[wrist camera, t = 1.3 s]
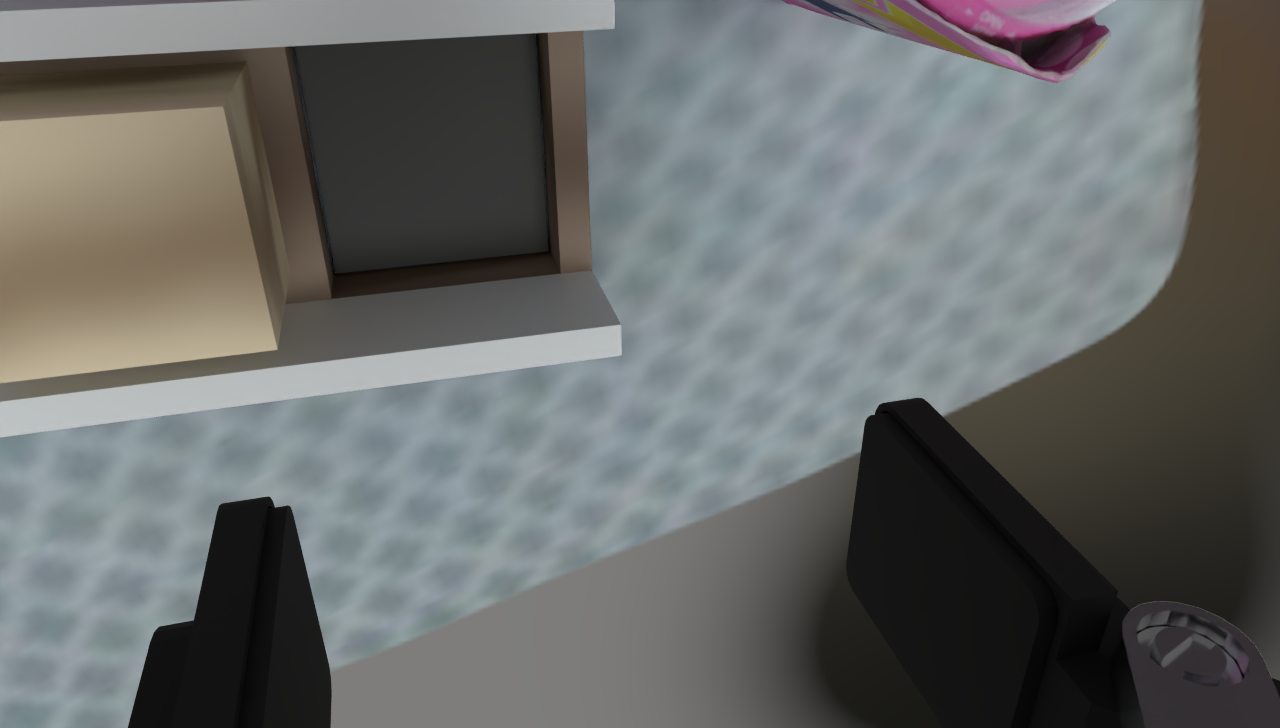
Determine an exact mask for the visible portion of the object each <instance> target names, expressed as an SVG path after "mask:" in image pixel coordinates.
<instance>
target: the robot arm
mask: <svg viewBox="0 0 1280 728" xmlns="http://www.w3.org/2000/svg"><path fill="white" fill-rule="evenodd" d="M846 565H847V566H846V569H847V576H848V580H849V583H850V586H851V588H852V590H853V592H854V593H855V595H856V597H857V598H858V600H859V601H860V602H861V604H862V606H863V607H864V609H865V610H866V612H867V613H868V615H869V616H870V618H871V619H872V621H873V622H874V624H875V626H876V627H877V629H878V630H879V632H880V633H881V635H882V636H883V638H884V639H885V641H886V642H887V644H888V645H889V647H890V648H891V650H892V651H893V653H894V655H895V656H896V658H897V659H898V661H899V662H900V664H901V665H902V667H903V668H904V670H905V671H906V673H907V674H908V676H909V677H910V679H911V680H912V682H913V684H914V685H915V687H916V688H917V690H918V691H919V693H920V694H921V696H922V697H923V699H924V700H925V702H926V703H927V705H928V706H929V708H930V709H931V711H932V713H933V714H934V715H935V717H936V719H937V720H938V722H939V723H940V725H941V726H942V728H1280V681H1279V680H1276V679H1273V678H1271V675H1270V673H1269V670H1268V668H1267V666H1266V663H1265V661H1264V659H1263V657H1262V655H1261V654H1260V652H1259V651H1258V649H1257V647H1256V646H1255V644H1254V643H1253V642H1252V641H1251V640H1250V639H1249V638H1248V637H1246V636H1245V634H1243V633H1242V632H1241V631H1240V630H1239V629H1238V628H1236V627H1235V626H1233V625H1232V624H1230V623H1228V622H1227V621H1225V620H1224V619H1222V618H1221V617H1219V616H1216V615H1214V614H1212V613H1210V612H1207V611H1205V610H1203V609H1200V608H1197V607H1193V606H1190V605H1186V604H1182V603H1177V602H1162V601H1156V602H1150V603H1145V604H1140V605H1139V606H1137V607H1135V608H1133V609H1132V610H1130V609H1129V608H1128V607H1127V606H1126V605H1125V604H1124V603H1123V602H1122V601H1121V600H1120V599H1119V598H1118V597H1117V596H1116V595H1117V592H1118V590H1116V588H1115V587H1114V586H1112V585H1111V583H1109V581H1108V580H1106V578H1104V577H1103V576H1102V575H1101V574H1100V573H1099V572H1098V571H1097V570H1096V569H1095V568H1094V567H1093V566H1092V565H1091V564H1090V563H1089V562H1088V561H1087V560H1086V559H1085V558H1084V557H1083V556H1082V555H1081V554H1080V553H1079V552H1078V551H1077V550H1076V549H1075V548H1074V547H1073V546H1072V545H1071V544H1070V543H1069V542H1068V541H1067V540H1066V539H1065V538H1064V537H1063V536H1062V535H1061V534H1060V533H1059V532H1058V531H1057V530H1056V529H1055V528H1054V527H1053V526H1052V525H1051V524H1050V523H1049V522H1048V521H1047V520H1046V519H1045V518H1044V517H1043V516H1042V515H1041V514H1040V513H1039V512H1038V511H1037V510H1036V509H1035V508H1034V507H1033V506H1032V505H1031V504H1030V503H1029V502H1028V501H1027V500H1026V499H1025V498H1024V497H1023V496H1022V495H1021V494H1020V493H1019V492H1018V491H1017V490H1016V489H1015V488H1014V487H1013V486H1012V485H1011V484H1010V483H1009V482H1008V481H1007V480H1006V479H1005V478H1004V477H1003V476H1002V475H1000V473H999V472H998V471H997V470H996V469H995V468H994V467H993V466H992V465H991V464H989V462H987V460H985V458H983V457H982V456H981V455H980V454H979V453H978V452H977V451H976V450H975V449H974V448H973V447H972V446H971V445H970V444H969V443H968V442H967V441H966V440H965V439H964V438H963V437H962V436H961V435H960V434H959V433H958V432H957V431H956V430H955V429H954V428H953V427H952V426H951V425H950V424H949V423H948V422H947V421H946V420H945V419H944V418H943V417H942V416H941V415H940V414H939V413H938V412H937V411H936V410H935V409H934V408H933V407H932V406H931V405H930V404H929V403H928V402H927V401H925V400H924V399H923V398H913V399H907V400H900V401H893V402H887V403H882V404H880V405H879V406H878V408H877V409H876V412H875V415H871V416H869V417H868V418H867V420H866V422H865V426H864V434H863V442H862V449H861V457H860V464H859V472H858V480H857V487H856V495H855V502H854V510H853V517H852V525H851V534H850V540H849V548H848V556H847V564H846ZM330 724H331V676H330V669H329V663H328V659H327V654H326V650H325V646H324V642H323V638H322V634H321V629H320V625H319V621H318V617H317V613H316V608H315V604H314V600H313V596H312V592H311V587H310V583H309V579H308V575H307V571H306V566H305V562H304V558H303V554H302V550H301V545H300V541H299V537H298V533H297V529H296V524H295V520H294V516H293V513H292V510H291V507H290V506H283V507H276V508H275V507H274V503H273V501H272V499H271V498H270V497H262V498H256V499H249V500H243V501H236V502H229V503H223V504H221V505H219V508H218V511H217V515H216V520H215V525H214V529H213V534H212V539H211V544H210V548H209V553H208V558H207V562H206V567H205V572H204V576H203V581H202V586H201V590H200V595H199V600H198V604H197V609H196V614H195V619H194V621H189V622H183V623H177V624H172V625H166V626H160V627H158V629H157V630H156V631H155V632H154V634H153V637H152V639H151V642H150V645H149V649H148V653H147V657H146V660H145V664H144V668H143V672H142V676H141V680H140V683H139V687H138V691H137V695H136V699H135V702H134V706H133V710H132V714H131V718H130V722H129V725H128V728H330Z"/></svg>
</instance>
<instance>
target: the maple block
mask: <svg viewBox="0 0 1280 728" xmlns="http://www.w3.org/2000/svg"><path fill="white" fill-rule="evenodd" d="M289 278H290V267H289V262H288V258H287V253H286V248H285V243H284V238H283V233H282V229H281V224H280V219H279V214H278V209H277V204H276V200H275V195H274V190H273V185H272V180H271V175H270V171H269V166H268V161H267V156H266V151H265V146H264V142H263V137H262V132H261V127H260V122H259V117H258V113H257V108H256V103H255V98H254V93H253V88H252V84H251V79H250V74H249V69H248V64H247V61H245V62H227V63H209V64H192V65H174V66H157V67H139V68H121V69H104V70H86V71H68V72H51V73H33V74H16V75H0V383H7V382H15V381H23V380H32V379H40V378H48V377H57V376H65V375H73V374H81V373H90V372H98V371H106V370H115V369H123V368H131V367H140V366H148V365H156V364H164V363H173V362H181V361H189V360H198V359H206V358H214V357H223V356H231V355H239V354H247V353H256V352H264V351H272V350H278V344H279V338H280V332H281V326H282V320H283V314H284V308H285V302H286V296H287V290H288V284H289Z"/></svg>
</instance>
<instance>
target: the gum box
mask: <svg viewBox="0 0 1280 728" xmlns="http://www.w3.org/2000/svg"><path fill="white" fill-rule="evenodd" d="M782 1H784V2H786V3H788V4H793V5H796V6H799V7H802V8H805V9H808V10H811V11H814V12H817V13H820V14H823V15H827V16H830V17H833V18H837V19H840V20H843V21H847V22H850V23H853V24H857V25H860V26H863V27H867V28H870V29H874V30H877V31H880V32H884V33H887V34H891V35H894V36H897V37H901V38H904V39H908V40H911V41H915V42H918V43H922V44H925V45H929V46H932V47H936V48H939V49H943V50H946V51H950V52H953V53H957V54H960V55H964V56H967V57H970V58H974V59H977V60H981V61H984V62H988V63H991V64H994V65H998V66H1001V67H1004V68H1008V69H1011V70H1015V71H1018V72H1021V73H1024V74H1027V75H1029V76H1032V77H1035V78H1038V79H1042V80H1046V81H1050V82H1053V83H1057V82H1062V81H1065V80H1067V79H1069V78H1070V77H1071V76H1072V75H1074V74H1075V73H1076V72H1077V71H1078V70H1079V69H1080V68H1081V67H1083V66H1084V65H1085V64H1086V63H1087V62H1088V61H1089V60H1090V59H1091V58H1093V57H1094V56H1095V55H1096V54H1097V53H1098V52H1099V51H1100V50H1101V49H1102V47H1103V46H1104V45H1105V44H1106V43H1107V41H1108V39H1109V37H1110V36H1111V34H1110V31H1109V29H1108V28H1107V27H1106V26H1100V25H1097V24H1096V22H1095V19H1094V17H1095V15H1096V14H1097V13H1098V12H1099V11H1100V10H1102V9H1103V8H1105V7H1107V6H1108V5H1110V4H1111V3H1113V2H1115V1H1116V0H782Z"/></svg>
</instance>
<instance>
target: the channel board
mask: <svg viewBox="0 0 1280 728" xmlns="http://www.w3.org/2000/svg"><path fill="white" fill-rule="evenodd" d="M603 29H615V5H614V0H0V75H16V74H33V73H51V72H68V71H86V70H104V69H121V68H139V67H157V66H174V65H192V64H209V63H227V62H245V61H247V64H248V69H249V74H250V79H251V84H252V88H253V93H254V98H255V103H256V108H257V113H258V117H259V122H260V127H261V132H262V137H263V142H264V146H265V151H266V156H267V161H268V166H269V171H270V175H271V180H272V185H273V190H274V195H275V200H276V204H277V209H278V214H279V219H280V224H281V229H282V233H283V238H284V243H285V248H286V253H287V258H288V262H289V267H290V278H289V284H288V290H287V296H286V302H285V308H284V314H283V320H282V326H281V332H280V338H279V344H278V350H272V351H264V352H256V353H247V354H239V355H231V356H223V357H214V358H206V359H198V360H189V361H181V362H173V363H164V364H156V365H148V366H140V367H131V368H123V369H115V370H106V371H98V372H90V373H81V374H73V375H65V376H57V377H48V378H40V379H32V380H23V381H15V382H7V383H0V437H7V436H14V435H22V434H30V433H37V432H45V431H52V430H60V429H68V428H75V427H83V426H90V425H98V424H106V423H113V422H121V421H128V420H136V419H144V418H151V417H159V416H166V415H174V414H182V413H189V412H197V411H204V410H212V409H220V408H227V407H235V406H242V405H250V404H258V403H265V402H273V401H280V400H288V399H295V398H303V397H311V396H318V395H326V394H333V393H341V392H349V391H356V390H364V389H371V388H379V387H387V386H394V385H402V384H409V383H417V382H425V381H432V380H440V379H447V378H455V377H463V376H470V375H478V374H485V373H493V372H501V371H508V370H516V369H523V368H531V367H539V366H546V365H554V364H561V363H569V362H577V361H584V360H592V359H599V358H607V357H615V356H622V346H621V324H620V322H619V320H618V318H617V316H616V314H615V312H614V311H613V309H612V307H611V305H610V303H609V301H608V299H607V298H606V296H605V294H604V292H603V290H602V288H601V287H600V285H599V283H598V281H597V279H596V277H595V275H594V274H593V272H592V265H591V237H590V210H589V183H588V155H587V128H586V100H585V73H584V46H583V31H584V30H603ZM535 33H537V38H538V55H539V72H540V89H541V106H542V122H543V139H544V156H545V173H546V190H547V207H548V223H549V240H550V251H548V235H547V218H546V202H545V185H544V168H543V152H542V135H541V119H540V102H539V85H538V69H537V52H536V36H535ZM292 46H295V51H296V57H297V62H298V68H299V73H300V79H301V84H302V90H303V95H304V101H305V106H306V112H307V117H308V123H309V128H310V134H311V139H312V145H313V150H314V156H315V162H316V167H317V173H318V178H319V184H320V189H321V195H322V200H323V206H324V211H325V217H326V222H327V228H328V233H329V239H330V244H331V250H332V255H333V261H334V266H335V272H336V273H333V269H332V263H331V258H330V252H329V247H328V241H327V236H326V230H325V225H324V219H323V214H322V208H321V203H320V198H319V192H318V187H317V181H316V176H315V170H314V165H313V159H312V154H311V148H310V143H309V137H308V132H307V126H306V121H305V115H304V110H303V105H302V99H301V94H300V88H299V83H298V77H297V72H296V66H295V61H294V55H293V50H292Z"/></svg>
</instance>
